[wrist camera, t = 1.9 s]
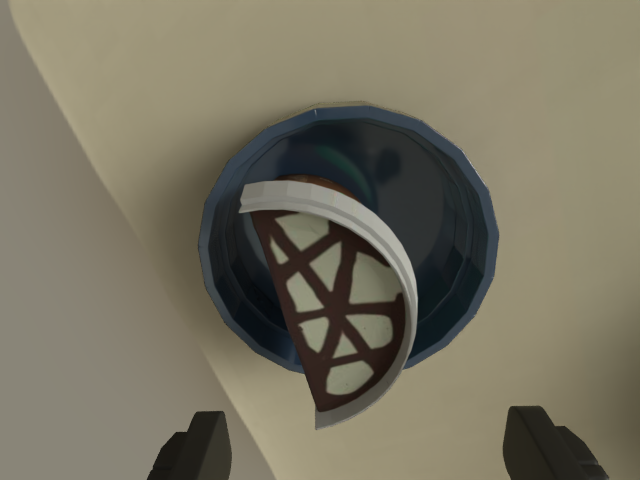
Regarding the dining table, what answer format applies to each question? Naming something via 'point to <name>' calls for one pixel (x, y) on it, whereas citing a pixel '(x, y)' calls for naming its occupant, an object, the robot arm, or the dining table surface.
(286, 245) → the food container
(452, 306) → the bowl
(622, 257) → the dining table surface
